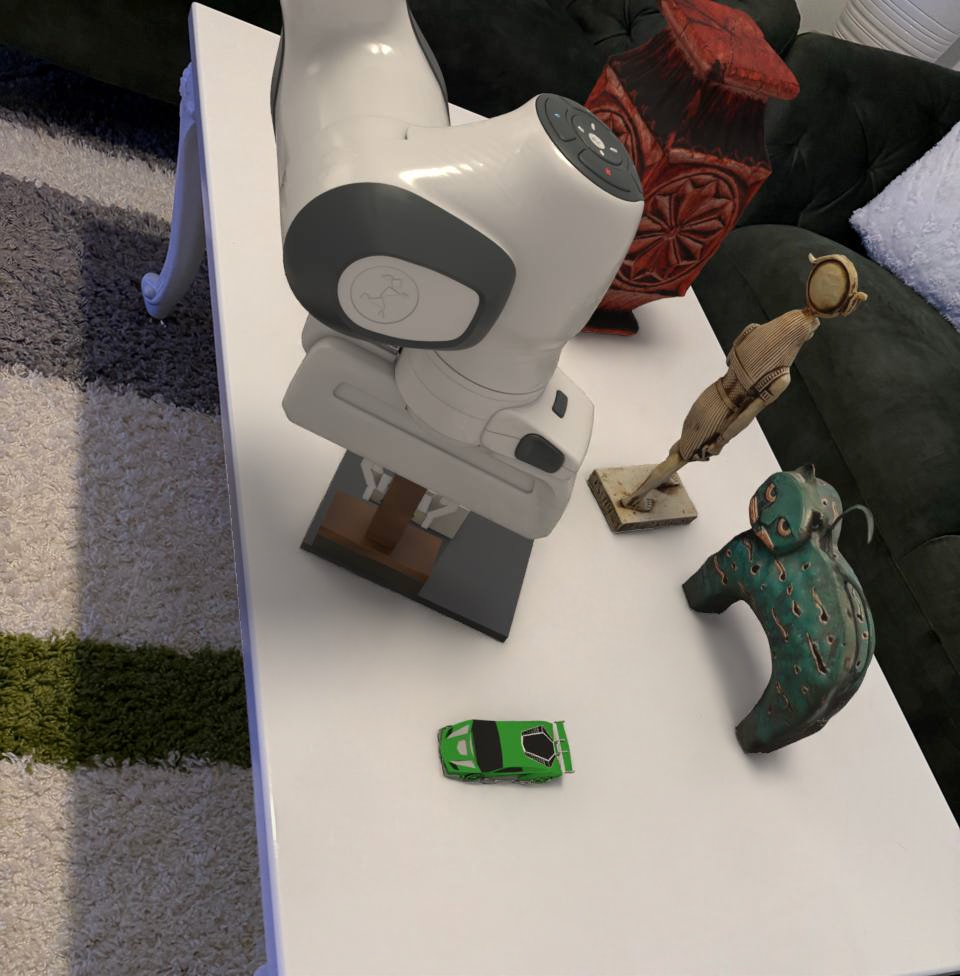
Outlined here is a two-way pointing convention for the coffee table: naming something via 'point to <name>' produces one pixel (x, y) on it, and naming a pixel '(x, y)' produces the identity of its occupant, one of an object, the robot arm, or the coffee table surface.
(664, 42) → the vase
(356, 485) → the slate board
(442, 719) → the coffee table surface
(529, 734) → the toy car
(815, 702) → the ceramic cat
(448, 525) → the chalk block
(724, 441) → the statue
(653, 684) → the coffee table surface
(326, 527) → the brush
